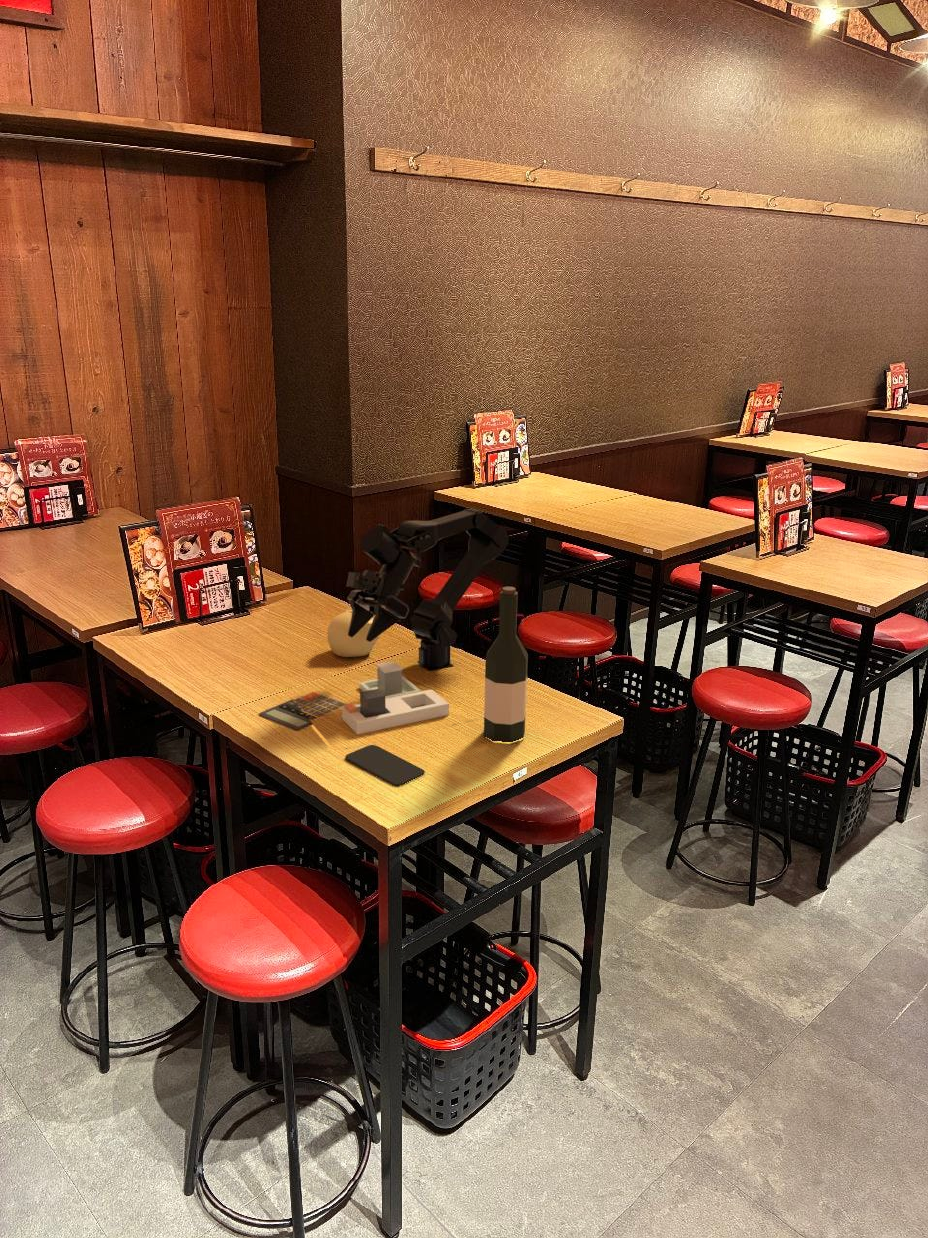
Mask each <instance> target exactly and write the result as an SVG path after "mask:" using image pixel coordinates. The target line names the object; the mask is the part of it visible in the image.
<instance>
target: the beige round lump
mask: <svg viewBox="0 0 928 1238" xmlns="http://www.w3.org/2000/svg"><path fill="white" fill-rule="evenodd" d="M351 617H352V609H345V610H344V612H342V613H340V614H337V616H335V617H334V618H333V619H332V620H331V621H330V623H329V625H328V628H327V635H326V636H327V642H328V644H329V647H330V649H331V650H332V652H333V653H334V654H335V655H337V656H338V657H344V658H348V657H349V658H355V657H356V658H357V657H364V656H365V657H366V656H367V655H369V654H370V653H371V652H372V651H373V649H374V647H375V645H376V643H377V641H378V640H379V637H380V636H378V637H376V638H375V639H374V640H372V641H371V642H369V641H367V640H366V637H367V634H368V632H369V629H370V627H371V624H372V622H373V619H374V617H372V618H371V619H370V620H369V621H368V622H367V623H366V624H365V625H364V626H363V627H362V628H361V629H360V631H359V632H358V633H356V634H355V635H354V636H353V637H350V636H348V631H349V627H350V622H351Z"/></svg>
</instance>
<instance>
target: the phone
mask: <svg viewBox="0 0 928 1238" xmlns="http://www.w3.org/2000/svg"><path fill="white" fill-rule="evenodd" d="M345 761H347V762H348V763H350V764H352V765H354V766H356V767H357V768H359V769H361V770H363V771H365V772H367V773H369V774H370V773H371V775H372V774H373V776H374V777H376V776H377V777H376V778H378V779H380V780H382V781H383V782H385V781H386V782H385V783H387V782H388V783H387V784H389V783H390V784H389V785H391V784H392V785H391V786H393V785H395V786H394V787H401V786H400V785H402V786H404V785H406V784H408V783H410V782H409V781H411V780H413V779H415V778H417V777H419V776H421V775H423V774H424V773H425V774H426V771H425V770H424V769H422V768H421V767H419V766H417V765H416V764H413V763H412V762H409V761H407V760H405V759H404V758H401V757H399V756H398V755H396V754H394V753H392V752H390V751H388V750H387V749H384V748H382V747H380V746H379V745H377V744H376V745H375V744H370V745H367V746H364V747H362V748H361V747H360V748H359V749H357V750H354V751H352V752H350V753H347V754H346V755H345ZM425 774H424V775H425ZM424 775H423V776H424ZM421 777H422V776H421ZM419 778H420V777H419ZM417 779H418V778H417ZM415 780H416V779H415ZM413 781H414V780H413ZM407 782H408V783H407ZM411 782H412V781H411ZM405 783H406V784H405ZM403 784H404V785H403Z"/></svg>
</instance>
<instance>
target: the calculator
mask: <svg viewBox="0 0 928 1238" xmlns="http://www.w3.org/2000/svg"><path fill="white" fill-rule="evenodd" d="M306 700H307V701H306ZM308 700H309V701H308ZM344 704H346V703H344V702H341V701H340V700H336V699H333V698H329V697H328V696H325V695H323V694H320V693H317V692H315V691H312V692H309V693H308V694H305V695H302V696H301V697H298V698H295V699H289V700H288V701H284V702H283V703H280V704H277V705H276V706H273V707H270V708H268V709H265V710H262V711H261V712H259V713H258V715H259V716H260V715H261V716H260V717H262V716H263V717H262V718H265V719H267V718H268V719H267V720H269V719H270V720H269V721H272V722H274V723H276V724H279V725H282V726H284V727H286V728H288V729H291V730H294V731H296V732H297V731H298V732H299V731H301V730H303V729H306V728H308V727H310V726H312V725H314V723H313V722H312V721H311V720H314V719H317V717H322V716H323V715H325V714H327V713H330V712H332V711H334V710H337V709H339V708H342V707H344ZM311 714H312V715H311ZM316 716H317V717H316Z"/></svg>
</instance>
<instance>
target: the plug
mask: <svg viewBox="0 0 928 1238" xmlns="http://www.w3.org/2000/svg"><path fill="white" fill-rule="evenodd" d="M376 665H377V672H376V673H377V675H376V676H377V678H376V679H378V690H380V691H381V692H382V693H383V694H384V695H385V696H389V695H394V694H399V693H402V676H403V667H402V666H401V665H399V664H398V663H397V662H396V661H388V662H382V663H377V664H376Z"/></svg>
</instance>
